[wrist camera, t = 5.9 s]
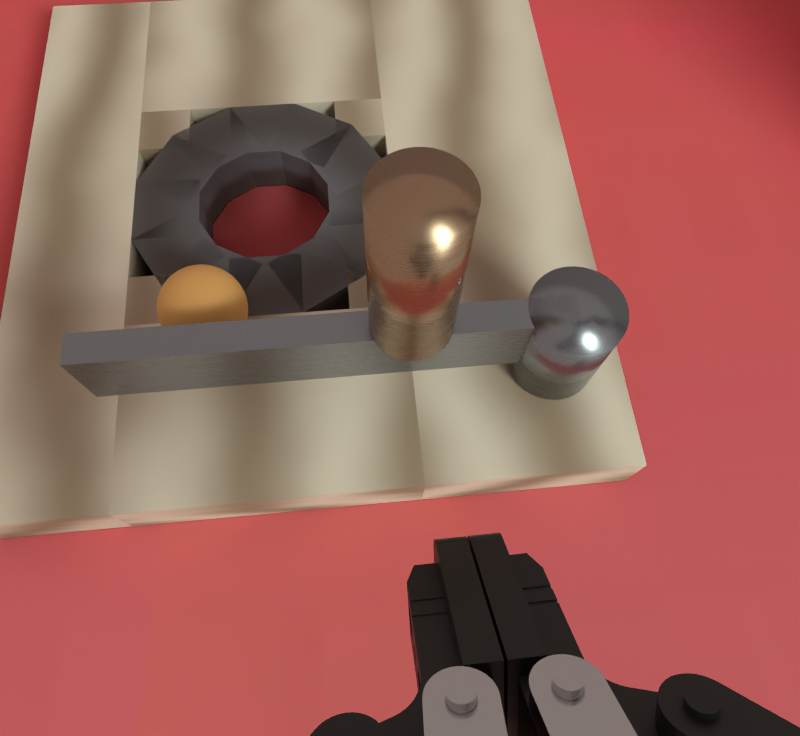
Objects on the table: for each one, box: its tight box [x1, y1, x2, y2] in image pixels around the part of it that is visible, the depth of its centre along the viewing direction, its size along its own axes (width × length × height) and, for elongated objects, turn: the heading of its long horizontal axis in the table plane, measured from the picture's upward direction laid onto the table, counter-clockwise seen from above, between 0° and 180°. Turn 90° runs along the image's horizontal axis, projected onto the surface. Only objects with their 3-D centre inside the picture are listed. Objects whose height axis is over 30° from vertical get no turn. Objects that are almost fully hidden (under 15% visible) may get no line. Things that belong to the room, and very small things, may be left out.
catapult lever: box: [60, 147, 629, 400], centre depth 21 cm, size 20×4×11 cm, turn 96°
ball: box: [157, 264, 248, 326], centre depth 26 cm, size 4×4×4 cm
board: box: [0, 0, 646, 538], centre depth 31 cm, size 26×28×2 cm
